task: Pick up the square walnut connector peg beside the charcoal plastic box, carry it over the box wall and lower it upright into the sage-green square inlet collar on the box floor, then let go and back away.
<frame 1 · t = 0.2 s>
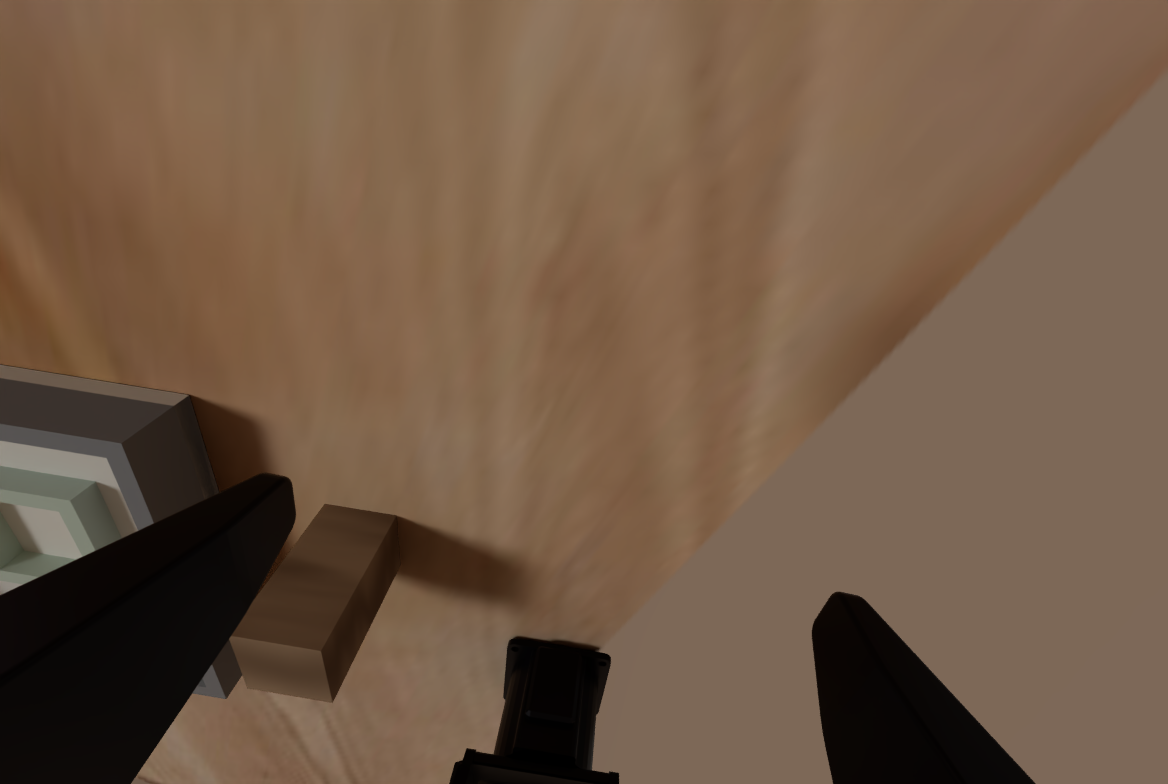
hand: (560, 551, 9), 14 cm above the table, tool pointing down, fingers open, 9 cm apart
connector peg: (363, 535, 30), on the table
walled box: (68, 510, 32), on the table
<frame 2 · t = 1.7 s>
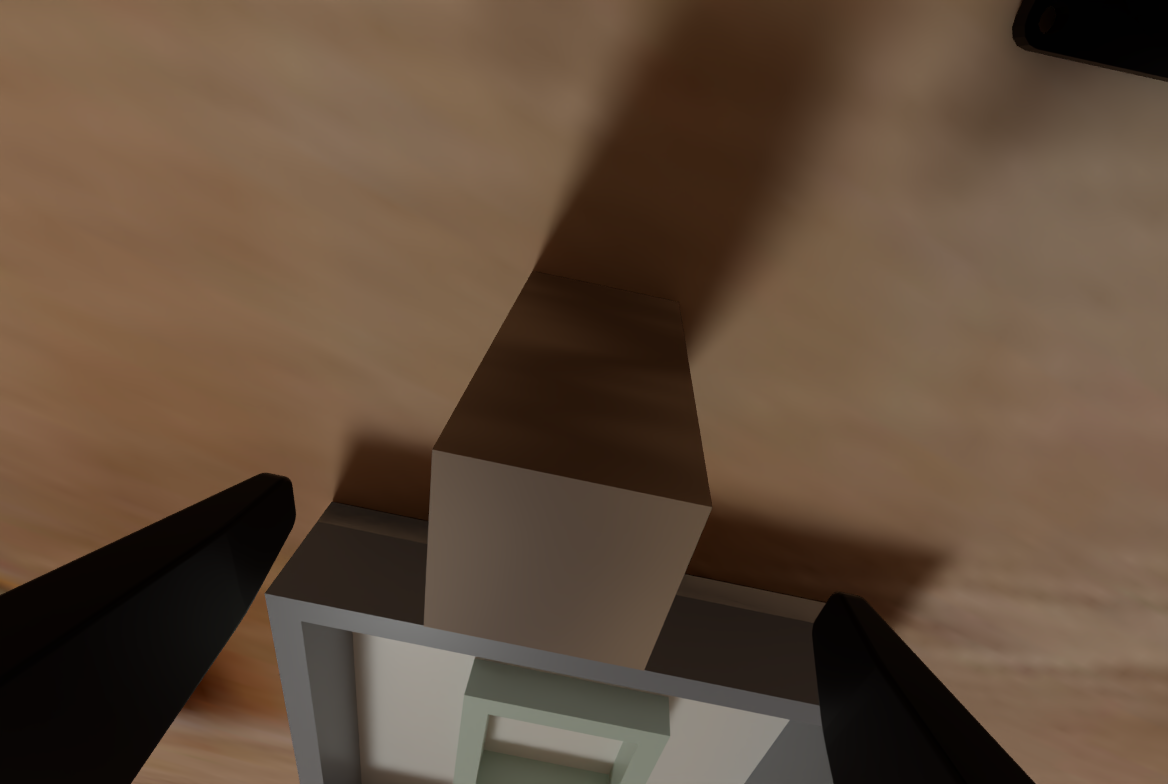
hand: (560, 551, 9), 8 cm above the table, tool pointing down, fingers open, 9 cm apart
connector peg: (591, 352, 15), on the table
walled box: (559, 706, 25), on the table
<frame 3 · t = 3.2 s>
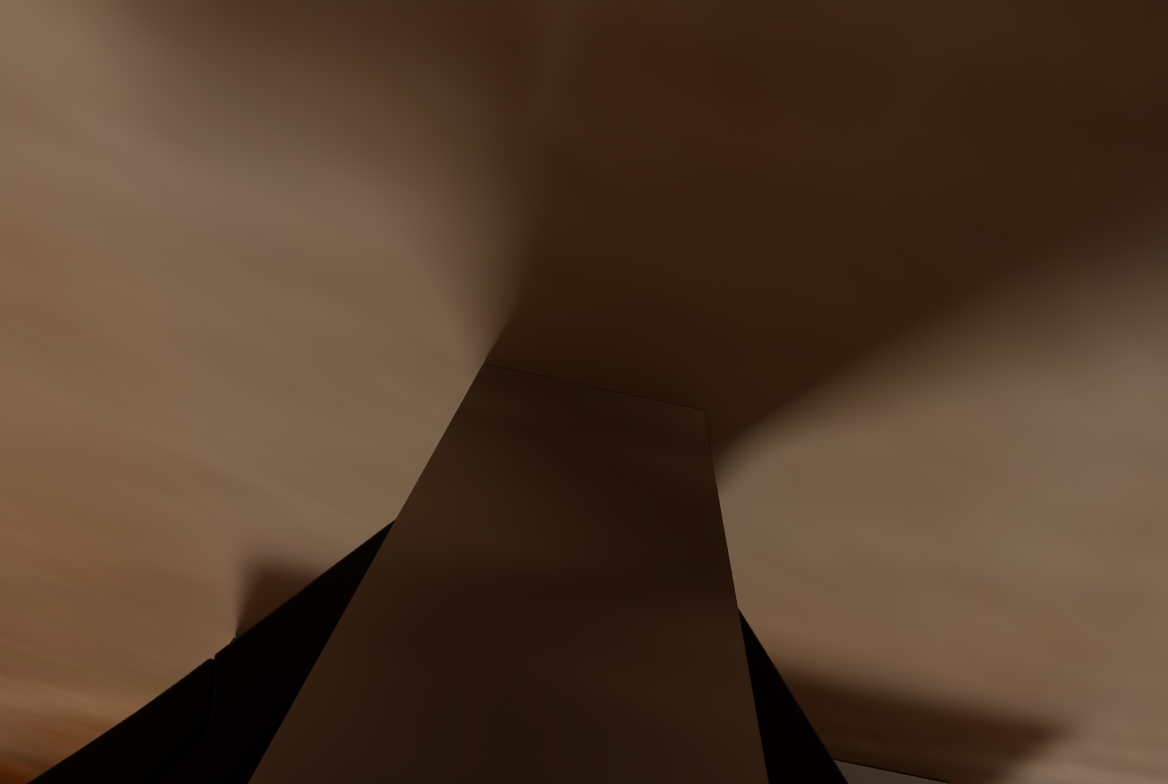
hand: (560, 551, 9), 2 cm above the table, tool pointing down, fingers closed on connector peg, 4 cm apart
connector peg: (574, 473, 11), on the table, touching gripper
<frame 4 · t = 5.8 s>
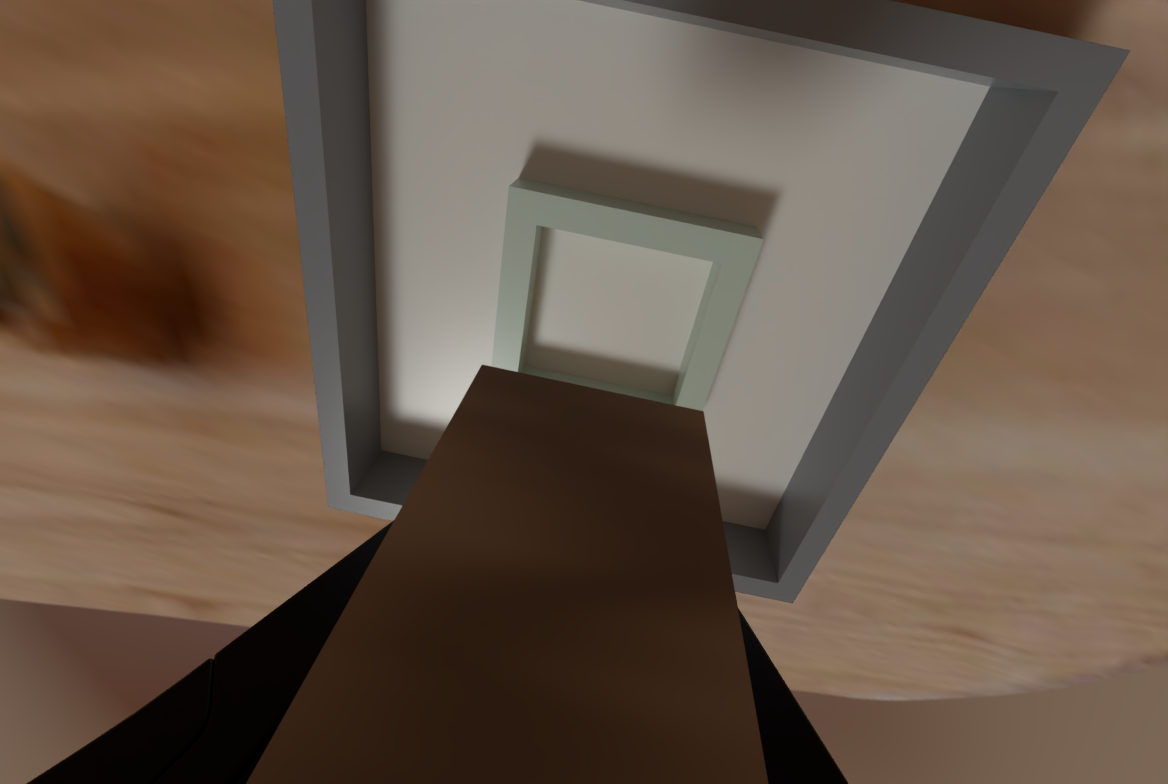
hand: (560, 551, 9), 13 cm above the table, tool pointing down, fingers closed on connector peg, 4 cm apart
connector peg: (573, 473, 11), point 11 cm above the table, touching gripper
walled box: (614, 301, 21), on the table
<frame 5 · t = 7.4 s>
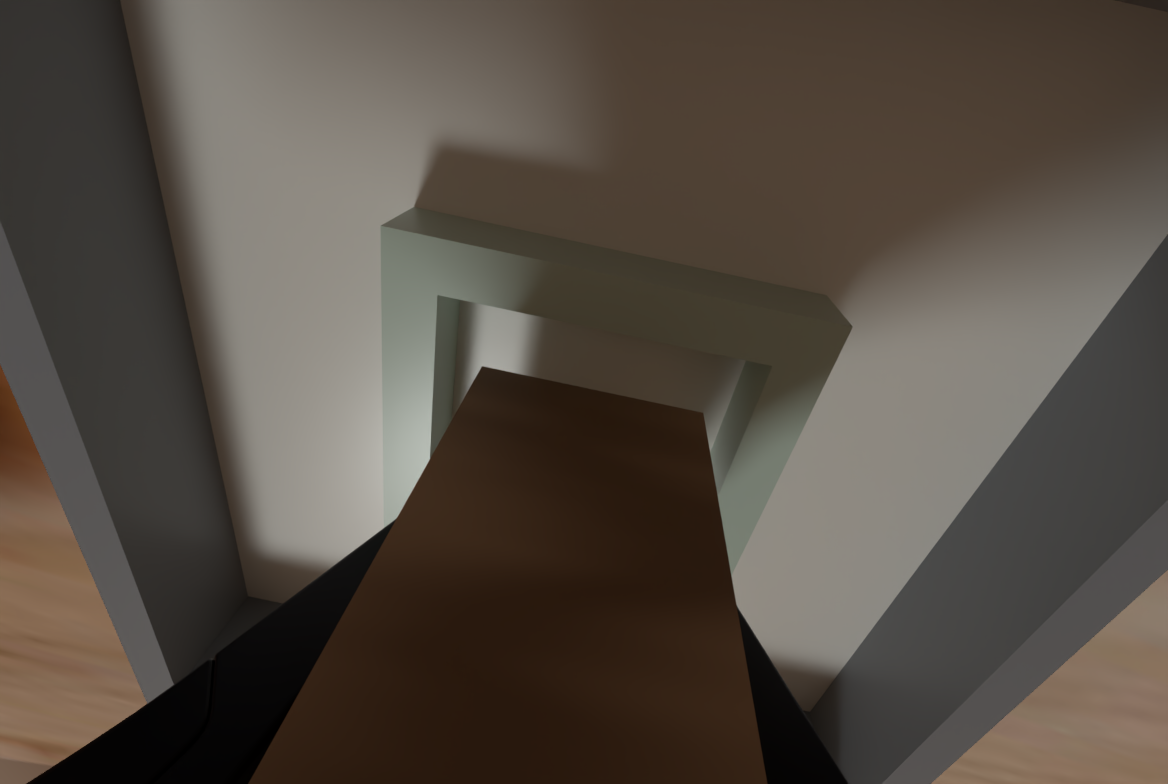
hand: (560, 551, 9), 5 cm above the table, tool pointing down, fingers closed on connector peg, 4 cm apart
connector peg: (573, 475, 11), point 3 cm above the table, touching gripper
walled box: (586, 399, 13), on the table
when the fingers open (4 cm above the table, at t = 8.4 s): connector peg stays where it is, resting on walled box.
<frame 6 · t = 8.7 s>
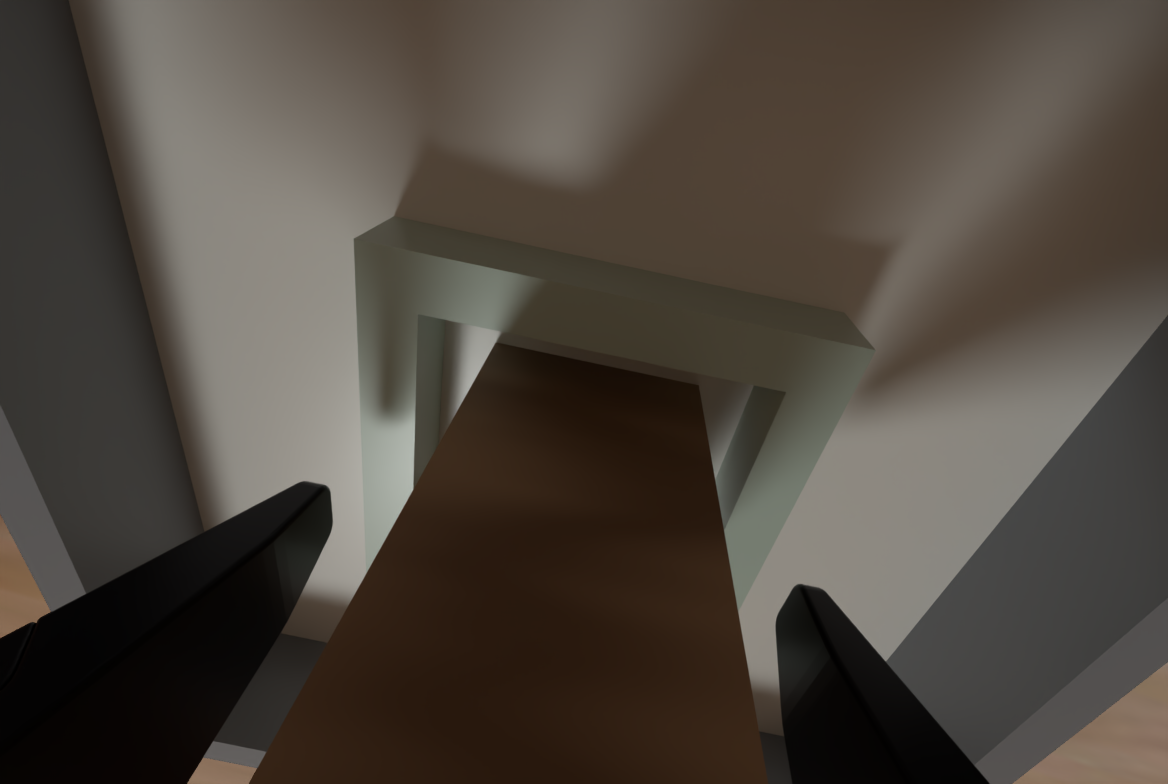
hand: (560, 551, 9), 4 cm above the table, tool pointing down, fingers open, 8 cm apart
connector peg: (579, 445, 11), point 1 cm above the table, touching walled box
walled box: (583, 419, 12), on the table
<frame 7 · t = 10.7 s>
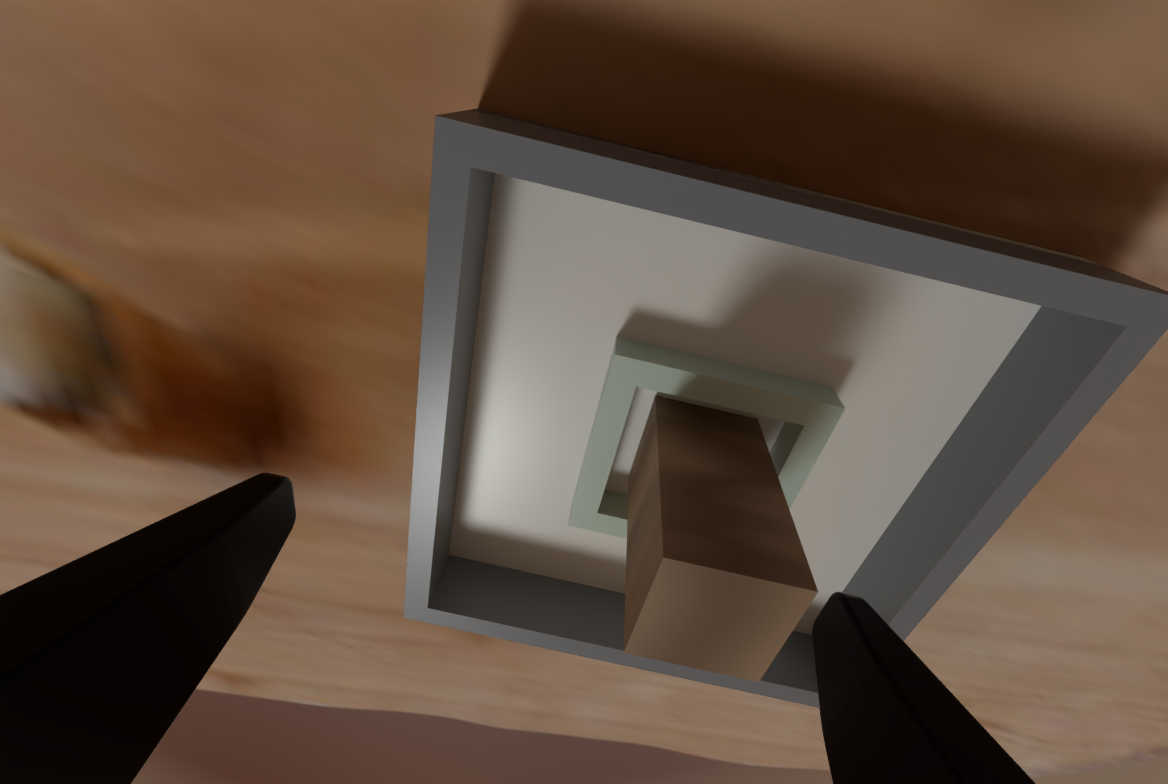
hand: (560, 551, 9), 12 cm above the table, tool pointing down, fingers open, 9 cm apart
connector peg: (690, 448, 21), point 1 cm above the table, touching walled box
walled box: (688, 434, 22), on the table
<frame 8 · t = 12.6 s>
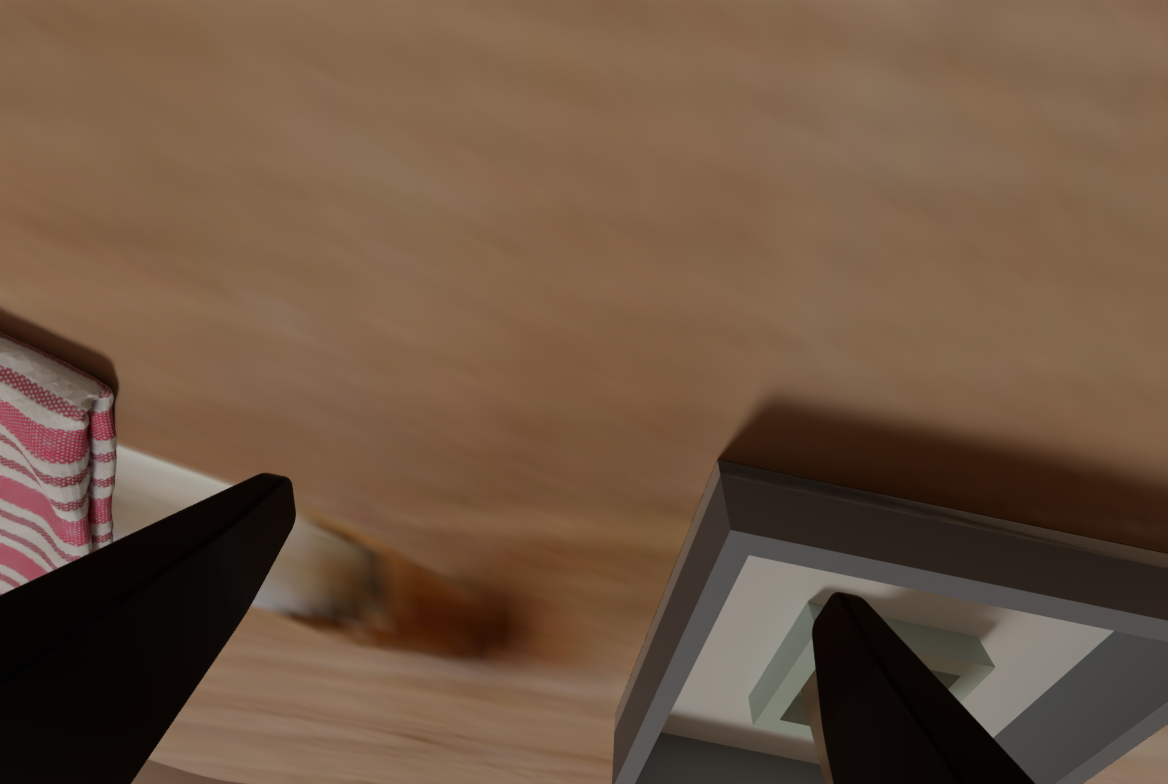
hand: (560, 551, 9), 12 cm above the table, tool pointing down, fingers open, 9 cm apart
connector peg: (854, 669, 27), point 1 cm above the table, touching walled box
walled box: (847, 650, 28), on the table
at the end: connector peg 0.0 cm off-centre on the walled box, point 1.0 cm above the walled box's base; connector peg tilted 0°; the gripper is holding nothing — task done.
